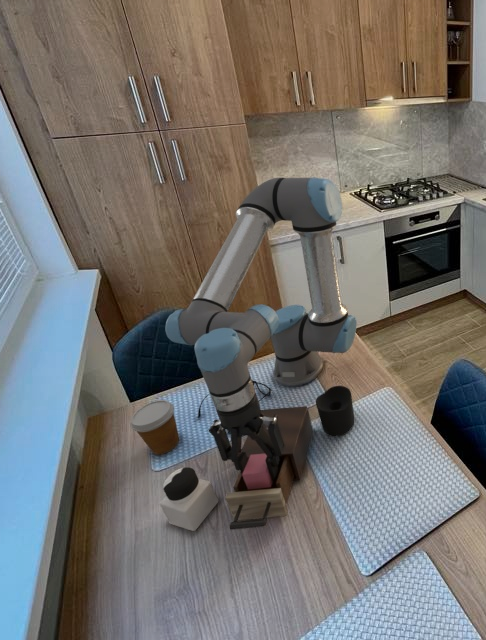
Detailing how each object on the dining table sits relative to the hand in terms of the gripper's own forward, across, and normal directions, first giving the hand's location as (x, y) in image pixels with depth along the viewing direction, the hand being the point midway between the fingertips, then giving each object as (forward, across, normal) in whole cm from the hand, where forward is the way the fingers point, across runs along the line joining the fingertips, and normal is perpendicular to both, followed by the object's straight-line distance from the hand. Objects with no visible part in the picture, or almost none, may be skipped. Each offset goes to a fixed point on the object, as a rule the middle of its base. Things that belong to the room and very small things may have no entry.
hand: (261, 475), depth 92 cm
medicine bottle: (+8, -16, -2) cm, 18 cm away
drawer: (+7, 0, -1) cm, 7 cm away
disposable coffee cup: (+8, -33, +18) cm, 38 cm away
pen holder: (+8, +13, +20) cm, 25 cm away
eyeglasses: (+8, -19, +30) cm, 36 cm away
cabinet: (+8, 0, +11) cm, 13 cm away
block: (+1, 0, 0) cm, 1 cm away
